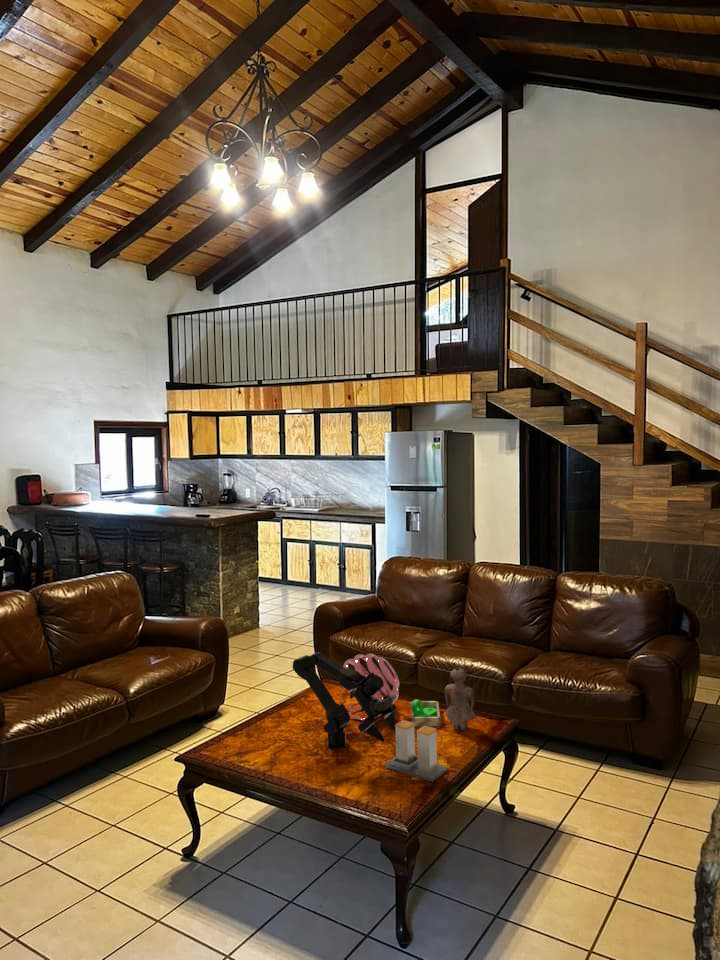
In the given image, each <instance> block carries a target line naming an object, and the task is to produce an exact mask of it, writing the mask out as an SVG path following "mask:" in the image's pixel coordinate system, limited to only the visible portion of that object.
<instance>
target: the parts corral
mask: <svg viewBox="0 0 720 960" xmlns="http://www.w3.org/2000/svg"><path fill="white" fill-rule="evenodd" d="M413 701H414V700H411V701H410V706H411V705H412V702H413ZM421 701H422V703H423V709H424V708H426V707H432V708H435V709H436V710H437V714H436V716H433V717H414V711H411V710H410V712H411V713H410V715H411V722H413V723H415V725H414V727H423V726H424V725H425V726H428V727H441V713H440V706H439V705H440V704H439V700H421Z"/></svg>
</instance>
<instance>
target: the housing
mask: <svg viewBox="0 0 720 960" xmlns="http://www.w3.org/2000/svg"><path fill="white" fill-rule="evenodd" d="M416 736H417V737H416V739H417V742H416V743H417V744H416V745H417V747H416V748H417V755H416V754H415V762H413V763H412V764H411V765H407V764H403V763H400V762H397V761H396V756H394V757H393V758H392V759H390V760H389V761H388V762H387V763H385V765H384V766H385V768H387V769H390V770H393V771H396V772H398V773H403V774H406V775H409V776H412V777H414V778H418V779H420V780H424V781H427V780H428V782H430V781H432V782H431V783H434V782H435V781H436V780H437V779H438V778H440V777H441V776H442V775H444V774H445V773H446V772H447V770H448V768H447V766H443V765H440V764H438V749H437V748H438V747H437V746H438V745H437V743H438V741H437V740H438V739H437V728H435V727H433V726H425V725H424V726H420V728H418V729H417V730H416ZM445 771H446V772H445ZM444 772H445V773H444ZM441 774H442V775H441ZM440 775H441V776H440ZM439 776H440V777H439ZM435 779H436V780H435ZM434 780H435V781H434ZM433 781H434V782H433Z"/></svg>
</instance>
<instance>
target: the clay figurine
mask: <svg viewBox="0 0 720 960" xmlns="http://www.w3.org/2000/svg"><path fill="white" fill-rule="evenodd" d="M449 675H450V678H451V679H452V680H453V682H454V683H450V684H447V685H446V686H445V688H444V696H445V697H444V698H445V704H446V707H447V709H446V711H445V716H446V718H447V719H448V720H449V722H450V723H451V724H452V725H453V726H452V729H456V730H458V729H460V730H461V731H466V730H467V729H468V728H469V726H468V725H467V724H468V721H471V720H473V719H475V718H476V714H475V712H474V706H475V692H474V689H473V688H472V687H470V686H468V685H465V684H464V683H465V681H466V679H467V674H466V671H465V670H464V669H462V668H461V667H460V668H459V667H456V668H454V669H452V670H451V671H450V674H449ZM459 727H460V728H459Z"/></svg>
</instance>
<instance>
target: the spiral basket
mask: <svg viewBox="0 0 720 960" xmlns="http://www.w3.org/2000/svg"><path fill="white" fill-rule="evenodd" d="M373 658H374V659H375V661H376V662H377V663H378V665H379V668H378V666H377V664H375V663H374V661H373ZM360 659H362V660H363V661H365V663H366V666H367V669H368V671H367V670H366V668H365V667H364V666H363V665H362V664H361V662H360ZM349 664H350V665H352V666H353V667H354V670H355V671H357V672H359V673H360V674H361V675H363V676H366V677H367V676H368V675H369V674H370V673H372V672H373V673H374V675H378V676H379V677H381V678H382V680H383V682H384V685H383V687H382V688H381V689H380V690H379V691H378V692H377V693H376V694H374V695H372V697H373V698H374V699H375V698H377V699H378V700H379V701H380V700H383V697H384V696H386V695H389V696H390V697H391V698H392V700H393V701H392V704H395V701H397V700H398V698H399V693H400V692H399V688H400V680H399V676H398V673H397V672H396V670H395V669H394V667H393V666H392V665H391V663H390V662H389V661H388V660H387V659H385V658H384V657H382V656H377V655H376V654H374V653H368V654H366V655H365V654H359V653H358V654H357V655H355V656H354V657H353V658H349V659H347V660H346V661H345V662H344V663H343V667H344V668H347V669H350V668H349ZM388 667H389V668H388ZM392 673H393V674H392ZM387 681H388V682H387ZM388 683H389V684H390V685H391V686H392V689H391V688H390V685H389V684H388ZM357 688H358V687H357ZM357 688H353V689H351V690H350V692H351V691H352V690H356V689H357ZM380 691H381V692H382V694H384V696H382V694H381V692H380ZM345 708H346V709H350V710H354V711H361V709H362V707H361V706H351V705H350V706H349V705H345ZM348 713H349V715H350V718H353V719H355V720H357V721H361V722H362V721H363V720H365V719H366V718H367V717H366V718H362V717H358V716H356V715H354V714H353V713H351V712H350V711H349V712H348Z"/></svg>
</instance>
